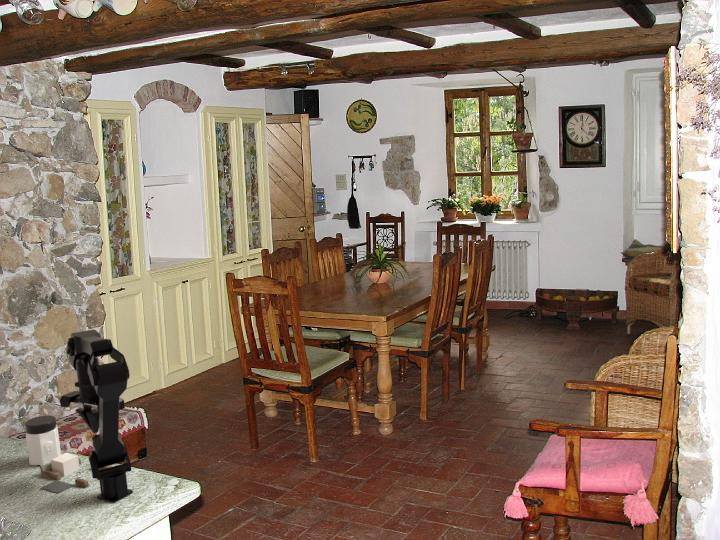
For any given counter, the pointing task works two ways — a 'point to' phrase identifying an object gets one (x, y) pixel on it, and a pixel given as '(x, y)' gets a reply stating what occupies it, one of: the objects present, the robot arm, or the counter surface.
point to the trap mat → (57, 486)
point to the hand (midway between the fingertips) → (95, 432)
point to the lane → (47, 472)
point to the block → (65, 464)
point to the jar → (42, 440)
